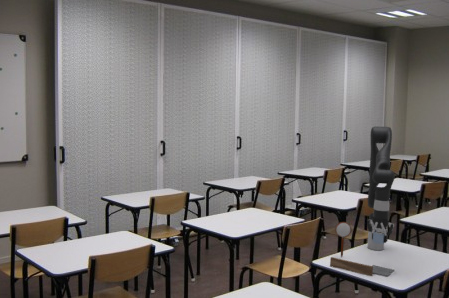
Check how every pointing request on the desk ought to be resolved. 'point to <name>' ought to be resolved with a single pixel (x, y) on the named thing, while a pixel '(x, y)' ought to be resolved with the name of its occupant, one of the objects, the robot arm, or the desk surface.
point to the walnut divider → (351, 266)
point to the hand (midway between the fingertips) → (379, 241)
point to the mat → (382, 270)
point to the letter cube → (378, 237)
